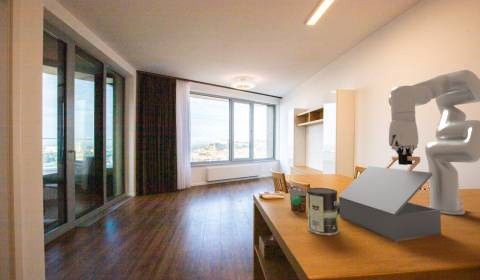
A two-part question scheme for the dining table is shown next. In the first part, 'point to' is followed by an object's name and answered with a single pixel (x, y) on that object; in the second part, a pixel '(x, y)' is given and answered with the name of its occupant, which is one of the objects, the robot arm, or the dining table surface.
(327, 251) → the dining table surface
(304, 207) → the food container
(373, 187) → the lid
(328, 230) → the coffee can
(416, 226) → the box
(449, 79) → the robot arm
